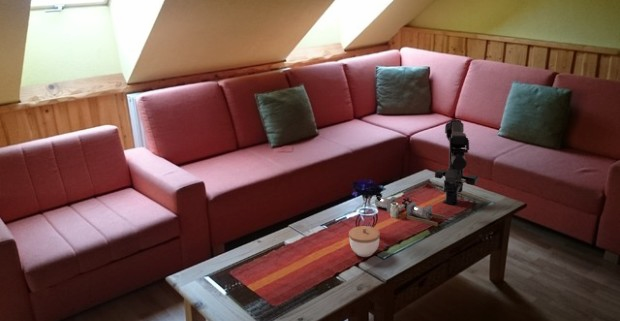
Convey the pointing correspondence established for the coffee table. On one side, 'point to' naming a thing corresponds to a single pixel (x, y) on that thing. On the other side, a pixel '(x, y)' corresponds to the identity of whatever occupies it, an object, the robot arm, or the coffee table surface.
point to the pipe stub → (385, 203)
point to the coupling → (419, 211)
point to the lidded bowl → (364, 240)
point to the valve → (398, 207)
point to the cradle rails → (427, 220)
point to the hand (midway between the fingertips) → (455, 194)
